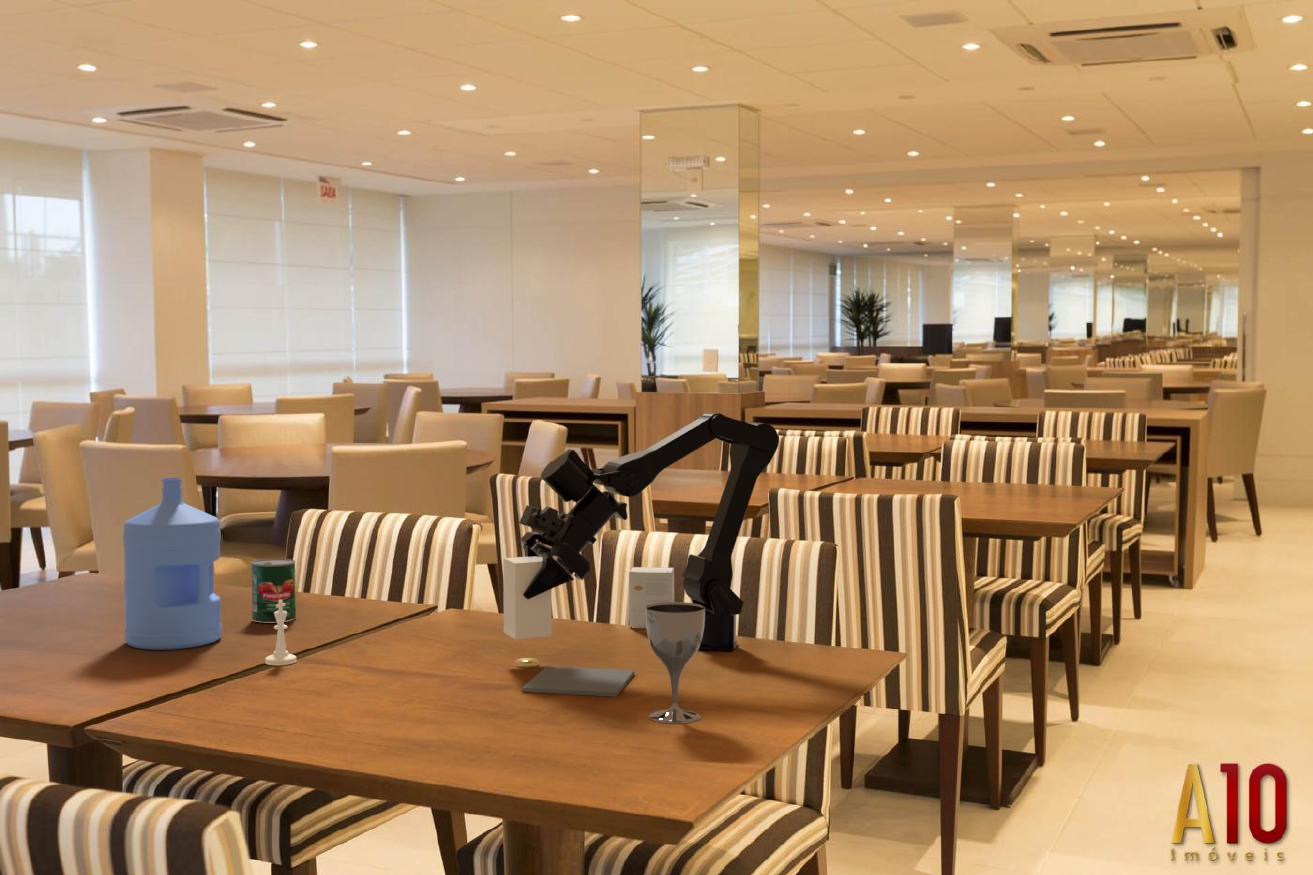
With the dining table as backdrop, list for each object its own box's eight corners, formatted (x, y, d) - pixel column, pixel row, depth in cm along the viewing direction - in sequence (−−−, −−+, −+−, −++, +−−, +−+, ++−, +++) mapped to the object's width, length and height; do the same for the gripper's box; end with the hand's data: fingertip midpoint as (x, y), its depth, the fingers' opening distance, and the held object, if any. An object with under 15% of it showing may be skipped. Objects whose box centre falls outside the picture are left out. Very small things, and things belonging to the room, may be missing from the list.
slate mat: (634, 674, 201) (634, 670, 201) (615, 696, 187) (616, 692, 187) (546, 670, 203) (546, 666, 203) (522, 691, 190) (522, 687, 190)
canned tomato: (277, 614, 248) (277, 557, 247) (304, 619, 243) (304, 560, 242) (242, 620, 241) (242, 562, 241) (269, 625, 237) (269, 566, 236)
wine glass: (643, 709, 180) (644, 602, 179) (700, 708, 181) (701, 601, 180) (647, 725, 172) (648, 613, 172) (707, 724, 173) (708, 612, 172)
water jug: (103, 646, 219) (101, 480, 217) (171, 629, 233) (169, 473, 232) (177, 654, 213) (174, 484, 211) (241, 636, 227) (239, 477, 226)
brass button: (540, 664, 208) (540, 658, 208) (534, 669, 205) (534, 663, 205) (519, 663, 209) (519, 657, 209) (512, 668, 206) (512, 662, 206)
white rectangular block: (539, 629, 211) (539, 556, 210) (551, 636, 205) (551, 561, 205) (503, 632, 208) (503, 558, 208) (515, 639, 203) (514, 563, 202)
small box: (674, 623, 241) (675, 567, 241) (672, 629, 236) (672, 572, 235) (632, 622, 242) (632, 566, 242) (628, 628, 237) (628, 571, 236)
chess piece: (303, 660, 209) (303, 598, 208) (282, 666, 204) (282, 603, 204) (279, 657, 211) (278, 596, 211) (258, 663, 207) (257, 601, 206)
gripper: (531, 482, 216) (467, 552, 212) (570, 492, 199) (501, 568, 195) (576, 527, 219) (514, 597, 215) (618, 541, 202) (551, 617, 198)
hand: (519, 594), depth 206 cm, fingers closed on white rectangular block, 6 cm apart
